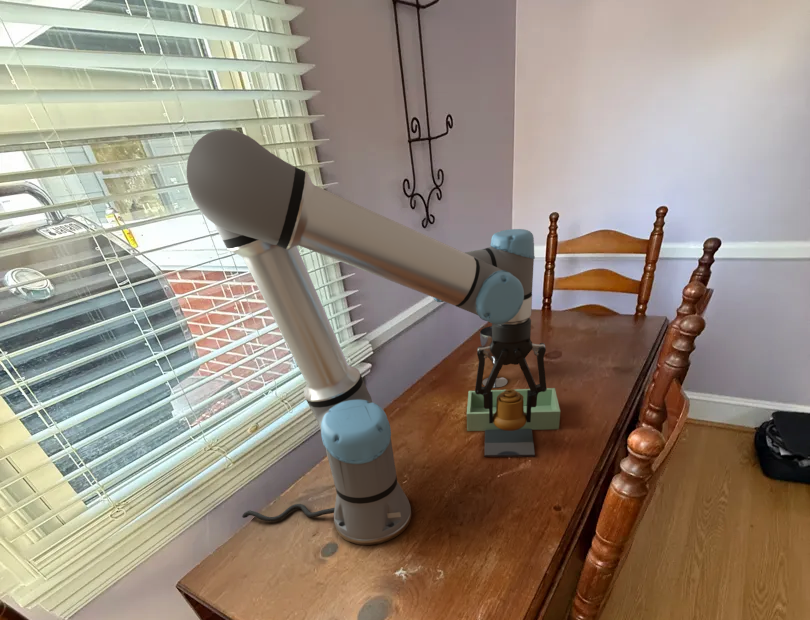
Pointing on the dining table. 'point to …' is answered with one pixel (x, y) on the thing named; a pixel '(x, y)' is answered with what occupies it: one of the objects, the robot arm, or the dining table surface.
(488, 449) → the slate tile
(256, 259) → the robot arm
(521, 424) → the ornamental finial
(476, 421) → the tote
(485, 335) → the metal goblet
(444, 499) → the dining table surface
